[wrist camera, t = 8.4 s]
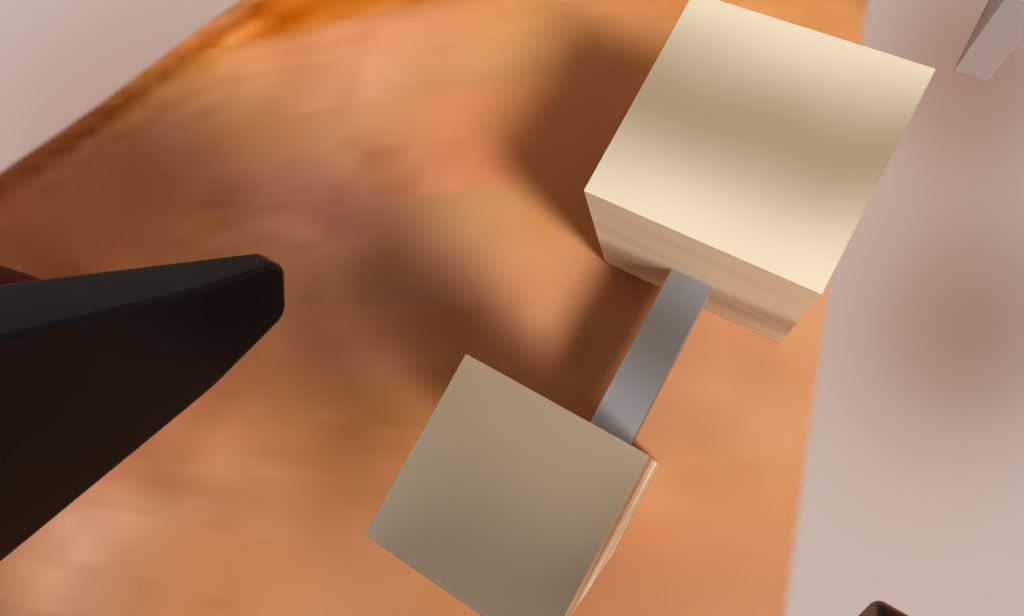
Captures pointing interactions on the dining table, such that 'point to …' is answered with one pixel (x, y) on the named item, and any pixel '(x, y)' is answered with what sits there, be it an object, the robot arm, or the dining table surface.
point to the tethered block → (684, 293)
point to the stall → (993, 38)
